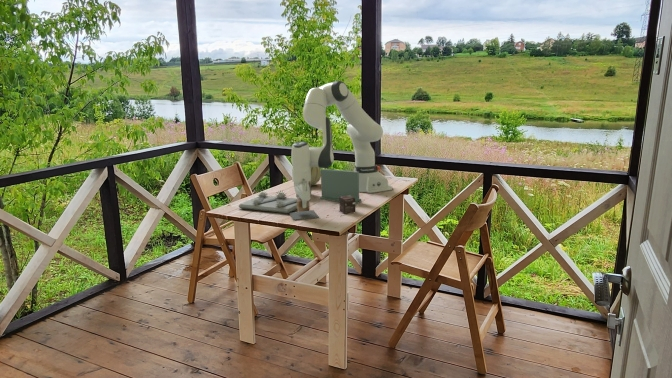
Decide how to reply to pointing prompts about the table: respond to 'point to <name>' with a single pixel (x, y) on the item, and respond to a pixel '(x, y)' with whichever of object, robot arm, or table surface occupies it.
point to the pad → (303, 215)
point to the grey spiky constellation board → (271, 203)
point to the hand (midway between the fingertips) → (303, 205)
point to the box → (347, 204)
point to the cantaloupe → (315, 175)
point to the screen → (339, 184)
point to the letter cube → (299, 205)
